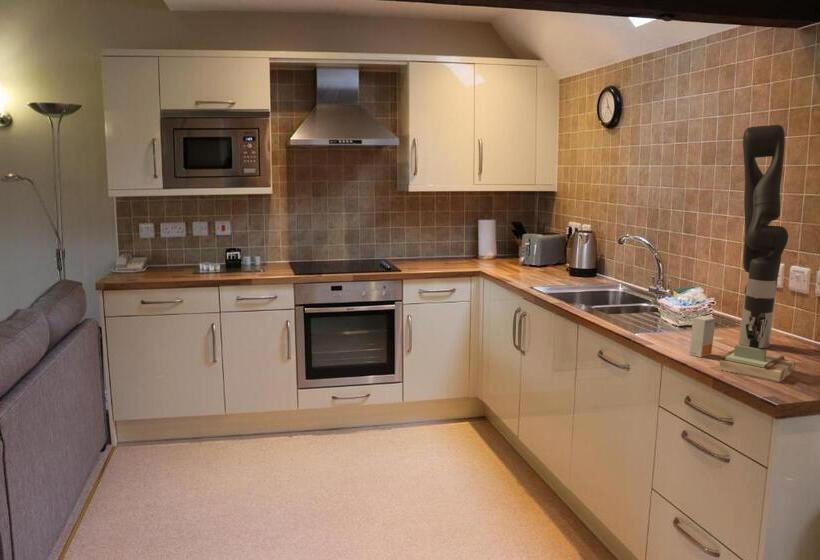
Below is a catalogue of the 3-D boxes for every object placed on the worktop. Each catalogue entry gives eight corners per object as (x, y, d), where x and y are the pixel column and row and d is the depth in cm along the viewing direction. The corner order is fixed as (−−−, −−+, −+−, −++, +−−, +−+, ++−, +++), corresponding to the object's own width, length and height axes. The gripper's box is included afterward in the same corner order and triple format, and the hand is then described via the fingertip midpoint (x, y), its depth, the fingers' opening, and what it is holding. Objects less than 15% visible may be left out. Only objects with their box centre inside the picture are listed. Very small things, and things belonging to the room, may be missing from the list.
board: (736, 359, 213) (738, 347, 213) (794, 371, 203) (795, 358, 202) (719, 370, 202) (720, 356, 201) (778, 382, 191) (780, 368, 190)
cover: (735, 354, 207) (736, 341, 207) (773, 361, 200) (775, 348, 200) (725, 359, 201) (726, 346, 200) (764, 367, 194) (765, 354, 193)
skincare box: (701, 357, 214) (705, 320, 212) (688, 354, 218) (692, 317, 216) (712, 355, 218) (716, 318, 216) (699, 352, 221) (703, 315, 219)
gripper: (753, 290, 207) (746, 346, 210) (739, 295, 197) (732, 354, 200) (780, 293, 202) (773, 351, 205) (767, 299, 192) (760, 359, 195)
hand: (753, 352), depth 202 cm, fingers closed
